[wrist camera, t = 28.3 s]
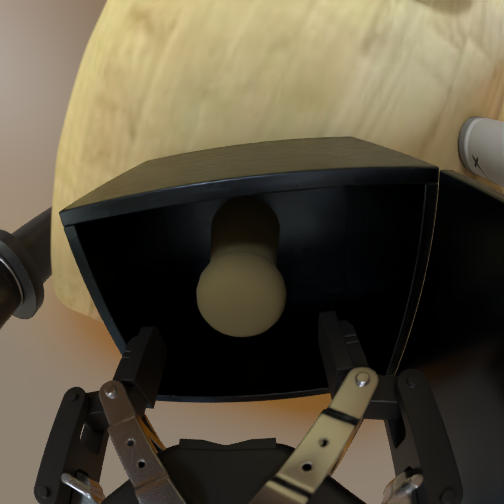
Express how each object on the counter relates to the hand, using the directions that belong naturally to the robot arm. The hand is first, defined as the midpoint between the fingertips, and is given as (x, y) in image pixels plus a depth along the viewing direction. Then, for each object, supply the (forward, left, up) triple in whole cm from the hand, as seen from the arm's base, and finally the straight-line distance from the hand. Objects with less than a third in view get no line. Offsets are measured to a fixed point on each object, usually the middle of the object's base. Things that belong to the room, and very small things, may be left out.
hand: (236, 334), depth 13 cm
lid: (+10, 0, +9) cm, 13 cm away
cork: (0, 0, -13) cm, 13 cm away
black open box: (+1, 0, -13) cm, 13 cm away
